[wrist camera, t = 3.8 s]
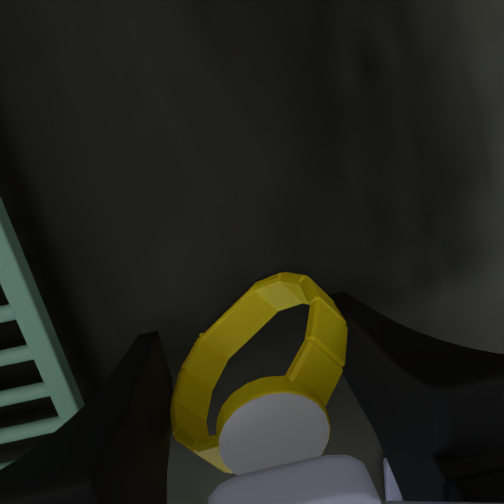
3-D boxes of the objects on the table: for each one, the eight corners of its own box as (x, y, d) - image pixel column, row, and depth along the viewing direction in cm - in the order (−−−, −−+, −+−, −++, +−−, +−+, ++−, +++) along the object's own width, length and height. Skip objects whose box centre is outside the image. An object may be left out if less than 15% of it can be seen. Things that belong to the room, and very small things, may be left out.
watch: (211, 388, 17) (222, 538, 12) (156, 347, 16) (140, 492, 11) (329, 284, 16) (401, 399, 11) (278, 234, 15) (329, 332, 10)
